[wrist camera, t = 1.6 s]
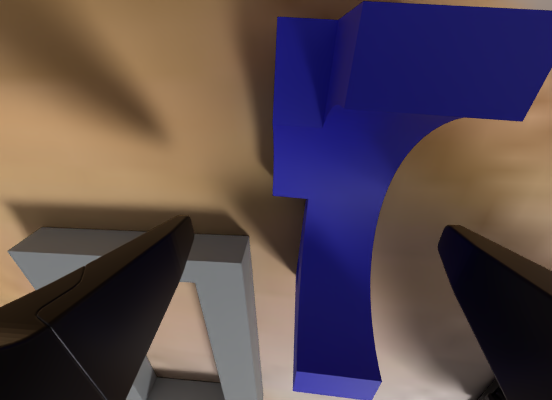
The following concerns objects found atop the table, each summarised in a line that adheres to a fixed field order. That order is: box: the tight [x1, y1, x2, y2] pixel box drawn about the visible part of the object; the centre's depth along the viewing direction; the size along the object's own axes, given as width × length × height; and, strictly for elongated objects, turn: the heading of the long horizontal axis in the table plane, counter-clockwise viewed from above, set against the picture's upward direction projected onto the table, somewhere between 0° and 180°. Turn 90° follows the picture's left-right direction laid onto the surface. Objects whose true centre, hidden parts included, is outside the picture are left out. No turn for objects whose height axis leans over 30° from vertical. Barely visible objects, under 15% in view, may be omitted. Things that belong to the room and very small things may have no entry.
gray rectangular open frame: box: [8, 227, 263, 400], centre depth 18 cm, size 12×18×2 cm, turn 1°
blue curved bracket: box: [273, 1, 552, 400], centre depth 9 cm, size 12×4×6 cm, turn 177°
